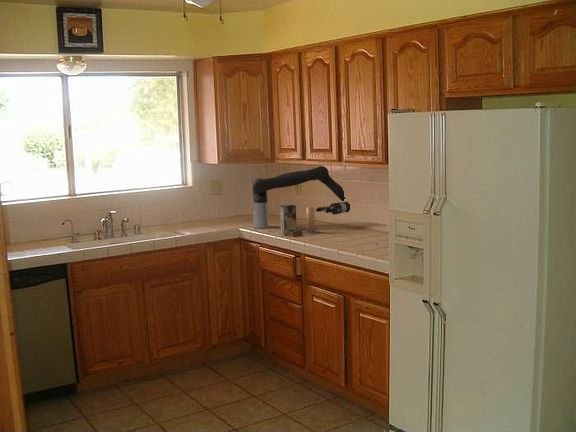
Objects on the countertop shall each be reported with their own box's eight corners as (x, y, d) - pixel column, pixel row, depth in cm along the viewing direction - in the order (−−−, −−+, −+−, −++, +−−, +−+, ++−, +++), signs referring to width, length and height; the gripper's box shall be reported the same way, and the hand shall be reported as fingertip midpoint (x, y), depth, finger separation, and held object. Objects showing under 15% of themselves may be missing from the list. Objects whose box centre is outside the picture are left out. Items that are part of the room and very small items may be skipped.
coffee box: (293, 228, 450) (292, 204, 447) (296, 229, 444) (296, 205, 442) (280, 229, 446) (279, 205, 444) (283, 231, 440) (283, 206, 438)
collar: (283, 235, 423) (283, 230, 422) (293, 233, 428) (292, 229, 428) (293, 236, 417) (292, 232, 416) (302, 235, 423) (302, 230, 422)
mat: (300, 233, 430) (300, 232, 429) (310, 231, 436) (310, 230, 436) (311, 234, 423) (311, 233, 423) (320, 232, 429) (320, 231, 429)
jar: (305, 232, 430) (304, 207, 427) (310, 231, 433) (309, 206, 431) (311, 233, 426) (310, 207, 424) (316, 231, 429) (315, 206, 427)
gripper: (329, 201, 452) (313, 204, 441) (346, 203, 442) (329, 205, 431) (330, 212, 453) (313, 215, 442) (346, 214, 443) (329, 217, 432)
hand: (321, 210), depth 436 cm, fingers open, 8 cm apart
